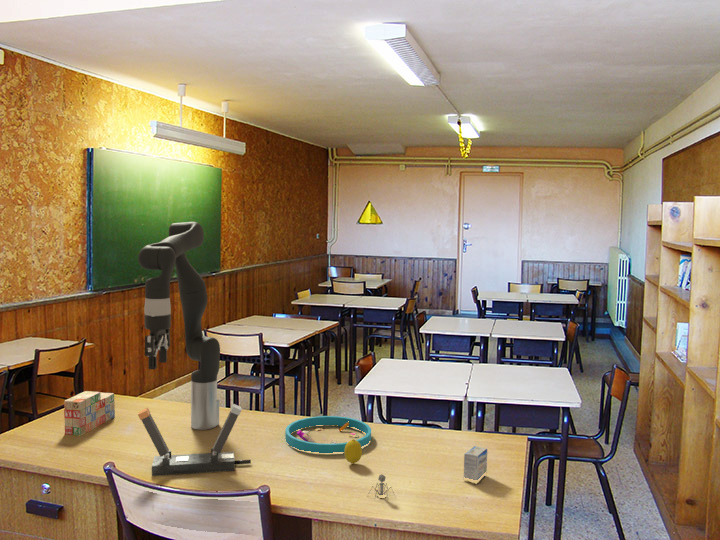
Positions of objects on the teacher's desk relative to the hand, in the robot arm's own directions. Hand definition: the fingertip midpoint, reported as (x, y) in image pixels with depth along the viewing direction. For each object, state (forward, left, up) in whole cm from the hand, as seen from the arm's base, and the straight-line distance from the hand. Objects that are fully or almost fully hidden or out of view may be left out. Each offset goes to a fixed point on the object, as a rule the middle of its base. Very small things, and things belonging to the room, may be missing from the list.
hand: (157, 365), depth 190 cm
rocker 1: (0, +4, -28) cm, 28 cm away
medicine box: (-60, +76, -32) cm, 102 cm away
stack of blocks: (-4, -51, -32) cm, 60 cm away
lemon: (-43, +42, -32) cm, 68 cm away
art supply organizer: (-54, +21, -32) cm, 66 cm away
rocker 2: (-11, +13, -28) cm, 32 cm away
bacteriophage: (-31, +63, -32) cm, 77 cm away
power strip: (-9, +11, -31) cm, 34 cm away
